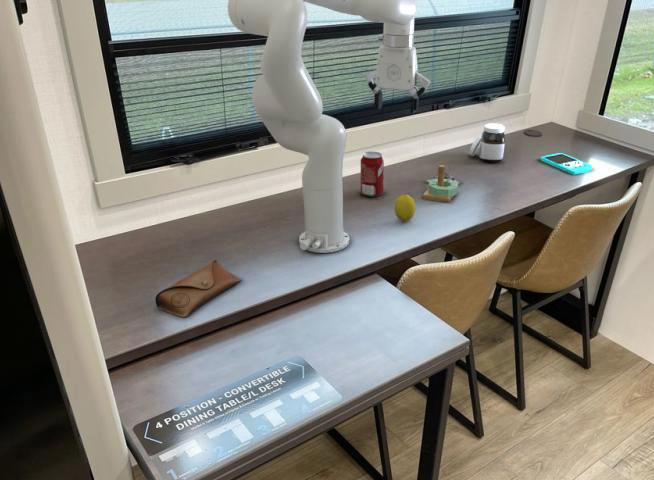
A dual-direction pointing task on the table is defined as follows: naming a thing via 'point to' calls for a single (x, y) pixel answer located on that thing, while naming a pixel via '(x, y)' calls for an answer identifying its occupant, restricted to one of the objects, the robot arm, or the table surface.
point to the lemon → (405, 207)
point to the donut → (444, 178)
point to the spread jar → (490, 143)
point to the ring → (443, 188)
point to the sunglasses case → (195, 290)
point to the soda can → (372, 174)
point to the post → (439, 183)
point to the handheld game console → (567, 163)
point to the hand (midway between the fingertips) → (396, 110)
